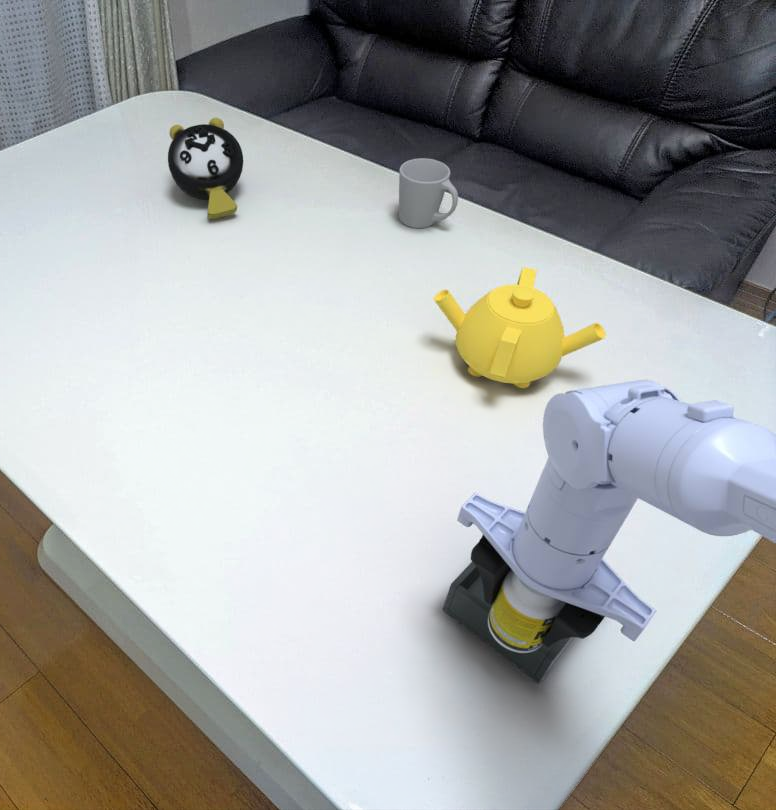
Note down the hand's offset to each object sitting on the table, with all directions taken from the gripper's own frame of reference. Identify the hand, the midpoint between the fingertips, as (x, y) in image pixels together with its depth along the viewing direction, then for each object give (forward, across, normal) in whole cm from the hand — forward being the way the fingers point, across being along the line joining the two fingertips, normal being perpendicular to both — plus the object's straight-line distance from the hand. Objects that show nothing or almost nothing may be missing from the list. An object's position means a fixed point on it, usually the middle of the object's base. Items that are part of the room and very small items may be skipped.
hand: (522, 616), depth 60 cm
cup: (+9, +48, -55) cm, 74 cm away
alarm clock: (+9, +79, -37) cm, 88 cm away
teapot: (+9, +21, -35) cm, 42 cm away
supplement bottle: (+2, 0, 0) cm, 2 cm away
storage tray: (+8, +2, -6) cm, 10 cm away
